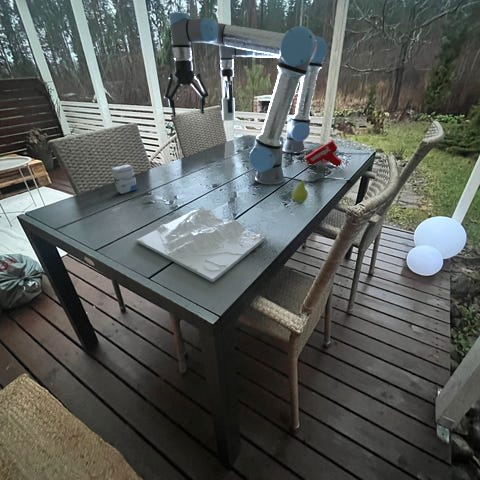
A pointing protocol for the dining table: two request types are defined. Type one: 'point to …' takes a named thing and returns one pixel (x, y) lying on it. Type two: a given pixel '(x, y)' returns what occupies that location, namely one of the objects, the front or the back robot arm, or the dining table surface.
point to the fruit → (300, 192)
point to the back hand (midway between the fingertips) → (228, 111)
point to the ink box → (124, 178)
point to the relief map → (202, 243)
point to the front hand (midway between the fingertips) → (188, 114)
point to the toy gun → (324, 155)
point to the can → (225, 113)
